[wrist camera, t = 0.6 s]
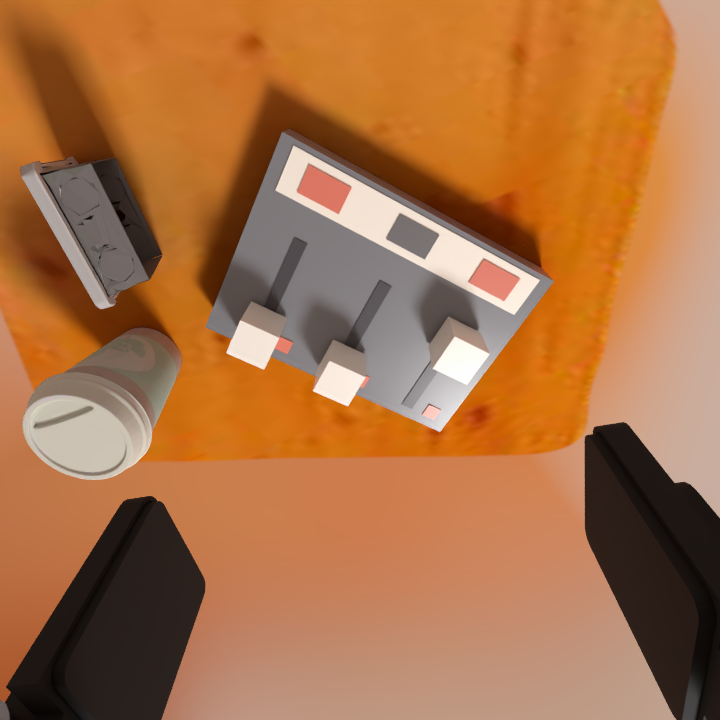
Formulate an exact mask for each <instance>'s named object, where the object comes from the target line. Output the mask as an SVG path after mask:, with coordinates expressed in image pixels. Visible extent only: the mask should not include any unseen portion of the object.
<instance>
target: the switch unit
mask: <svg viewBox="0 0 720 720" xmlns="http://www.w3.org/2000/svg"><path fill="white" fill-rule="evenodd" d="M553 282H554V281H553V280H552V279H551V278H550V276H549V275H548V274H547V273H546V272H545V271H544V270H543V269H542V268H541V267H539V266H537V265H535V264H533V263H532V262H530V261H528V260H526V259H524V258H522V257H521V256H519V255H517V254H515V253H513V252H512V251H510V250H508V249H506V248H504V247H503V246H501V245H499V244H497V243H495V242H494V241H492V240H490V239H488V238H486V237H485V236H483V235H481V234H479V233H477V232H475V231H474V230H472V229H470V228H468V227H466V226H465V225H463V224H461V223H459V222H457V221H456V220H454V219H452V218H450V217H448V216H447V215H445V214H443V213H441V212H439V211H438V210H436V209H434V208H432V207H430V206H429V205H427V204H425V203H423V202H421V201H419V200H418V199H416V198H414V197H412V196H410V195H409V194H407V193H405V192H403V191H401V190H400V189H398V188H396V187H394V186H392V185H391V184H389V183H387V182H385V181H383V180H382V179H380V178H378V177H376V176H374V175H373V174H371V173H369V172H367V171H365V170H363V169H362V168H360V167H358V166H356V165H354V164H353V163H351V162H349V161H347V160H345V159H344V158H342V157H340V156H338V155H336V154H335V153H333V152H331V151H329V150H327V149H326V148H324V147H322V146H320V145H318V144H316V143H315V142H313V141H311V140H309V139H307V138H306V137H304V136H302V135H300V134H298V133H297V132H295V131H293V130H291V129H287V130H285V131H283V132H282V134H281V136H280V139H279V141H278V144H277V146H276V149H275V151H274V154H273V157H272V159H271V162H270V164H269V167H268V169H267V172H266V174H265V177H264V179H263V182H262V185H261V187H260V190H259V192H258V195H257V197H256V200H255V202H254V205H253V207H252V210H251V213H250V215H249V218H248V220H247V223H246V225H245V228H244V230H243V233H242V235H241V238H240V241H239V243H238V246H237V248H236V251H235V253H234V256H233V258H232V261H231V263H230V266H229V269H228V271H227V274H226V276H225V279H224V281H223V284H222V286H221V289H220V291H219V294H218V297H217V299H216V302H215V304H214V307H213V309H212V312H211V314H210V317H209V319H208V322H207V325H206V328H208V329H210V330H213V331H215V332H217V333H219V334H222V335H224V336H226V337H228V338H231V339H232V338H233V336H234V334H235V331H236V329H237V327H238V324H239V322H240V320H241V318H242V317H243V315H244V313H245V311H246V310H247V308H248V306H249V305H250V303H251V301H252V302H254V303H256V304H258V305H261V306H263V307H265V308H267V309H269V310H271V311H273V312H276V313H278V314H280V315H282V316H284V317H286V318H287V320H286V322H285V325H284V328H283V330H282V333H281V335H280V338H279V340H278V342H277V344H276V346H275V348H274V350H273V352H272V354H271V357H273V358H275V359H278V360H280V361H282V362H284V363H287V364H289V365H291V366H293V367H296V368H298V369H300V370H302V371H305V372H307V373H309V374H311V375H314V376H316V373H317V368H318V366H319V364H320V363H321V361H322V359H323V357H324V355H325V354H326V352H327V350H328V348H329V346H330V344H331V343H332V341H333V340H336V341H338V342H340V343H342V344H344V345H346V346H348V347H351V348H353V349H355V350H357V351H359V352H361V353H363V354H366V378H365V379H364V381H363V383H362V384H361V386H360V387H359V389H358V391H357V392H356V395H358V396H361V397H363V398H365V399H367V400H370V401H372V402H374V403H376V404H379V405H381V406H383V407H385V408H388V409H390V410H392V411H394V412H397V413H399V414H401V415H403V416H406V417H408V418H410V419H412V420H415V421H417V422H419V423H421V424H424V425H426V426H428V427H430V428H432V429H435V430H437V431H439V432H440V431H441V430H442V428H443V427H444V426H445V424H446V423H447V422H448V421H449V419H450V418H451V417H452V415H453V414H454V413H455V411H456V410H457V409H458V407H459V406H460V405H461V403H462V402H463V401H464V399H465V398H466V397H467V395H468V394H469V393H470V391H471V390H472V389H473V387H474V386H475V385H476V384H477V382H478V381H479V380H480V378H481V377H482V376H483V374H484V373H485V372H486V370H487V369H488V368H489V366H490V365H491V364H492V362H493V361H494V360H495V358H496V357H497V356H498V354H499V353H500V352H501V350H502V349H503V348H504V347H505V345H506V344H507V343H508V341H509V340H510V339H511V337H512V336H513V335H514V333H515V332H516V331H517V329H518V328H519V327H520V325H521V324H522V323H523V321H524V320H525V319H526V317H527V316H528V315H529V313H530V312H531V311H532V310H533V308H534V307H535V306H536V304H537V303H538V302H539V300H540V299H541V298H542V296H543V295H544V294H545V292H546V291H547V290H548V288H549V287H550V286H551V284H552V283H553ZM448 316H449V317H451V318H453V319H455V320H457V321H459V322H461V323H463V324H465V325H467V326H469V327H471V328H472V329H474V330H476V331H478V332H480V333H481V334H482V337H483V339H484V341H485V344H486V346H487V348H488V351H489V353H490V355H489V356H488V357H487V359H486V360H485V361H484V363H483V364H482V365H481V367H480V368H479V369H478V371H477V372H476V373H475V375H474V376H473V377H472V379H471V380H470V381H469V383H468V384H467V385H466V384H464V383H462V382H460V381H457V380H455V379H453V378H451V377H449V376H447V375H445V374H443V373H441V372H439V371H436V370H434V369H433V368H432V363H431V358H430V354H429V349H428V346H429V344H430V343H431V341H432V340H433V338H434V337H435V335H436V334H437V332H438V331H439V329H440V328H441V326H442V325H443V323H444V322H445V320H446V319H447V317H448Z"/></svg>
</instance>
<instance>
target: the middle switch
mask: <svg viewBox="0 0 720 720" xmlns="http://www.w3.org/2000/svg"><path fill="white" fill-rule="evenodd" d="M365 378H366V354H363V353H361V352H359V351H357V350H355V349H353V348H351V347H348V346H346V345H344V344H342V343H340V342H338V341H336V340H333V341H332V343H331V344H330V346H329V348H328V350H327V352H326V354H325V355H324V357H323V359H322V361H321V363H320V364H319V366H318V368H317V373H316V378H315V383H314V387H313V391H314V392H316V393H318V394H321V395H323V396H325V397H327V398H330V399H332V400H334V401H337V402H339V403H341V404H343V405H346V406H348V405H349V404H350V402H351V400H352V399H353V397H354V396H355V394H356V392H357V391H358V389H359V387H360V386H361V384H362V383H363V381H364V379H365Z"/></svg>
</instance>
